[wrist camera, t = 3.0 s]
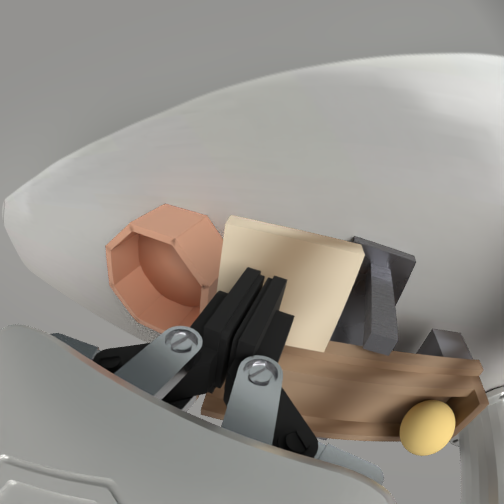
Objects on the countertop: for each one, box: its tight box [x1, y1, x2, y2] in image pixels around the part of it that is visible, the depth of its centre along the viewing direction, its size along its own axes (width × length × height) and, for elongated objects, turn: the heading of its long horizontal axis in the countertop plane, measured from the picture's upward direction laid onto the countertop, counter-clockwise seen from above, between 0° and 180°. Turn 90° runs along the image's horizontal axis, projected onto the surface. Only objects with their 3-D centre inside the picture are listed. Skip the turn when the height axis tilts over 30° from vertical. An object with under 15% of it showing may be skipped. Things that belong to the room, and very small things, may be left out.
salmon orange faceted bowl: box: [105, 204, 223, 334], centre depth 26 cm, size 10×10×5 cm
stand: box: [316, 236, 416, 440], centre depth 21 cm, size 5×14×9 cm, turn 170°
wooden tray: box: [201, 215, 489, 441], centre depth 16 cm, size 18×14×7 cm
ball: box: [400, 400, 455, 456], centre depth 15 cm, size 4×4×4 cm
